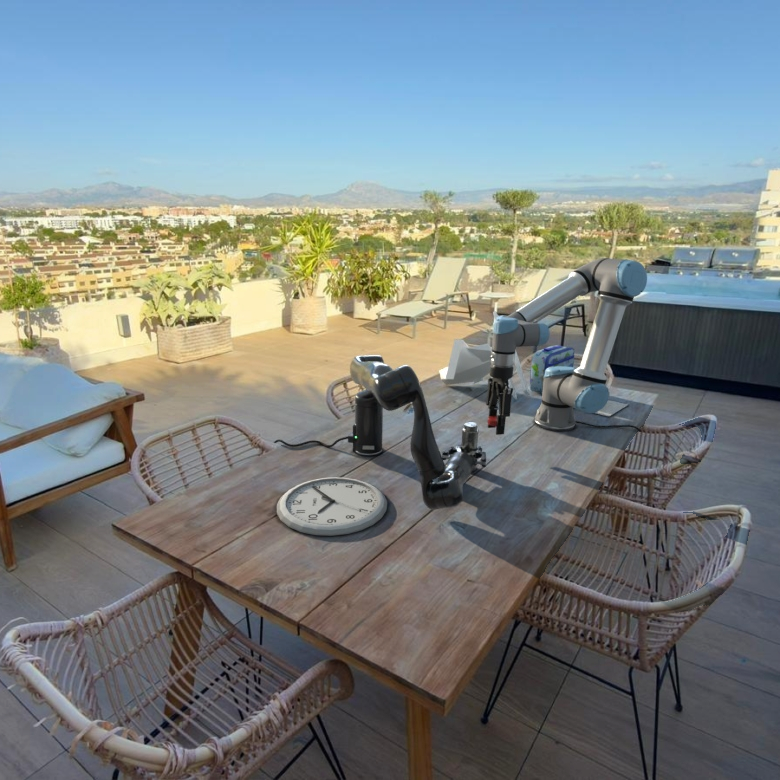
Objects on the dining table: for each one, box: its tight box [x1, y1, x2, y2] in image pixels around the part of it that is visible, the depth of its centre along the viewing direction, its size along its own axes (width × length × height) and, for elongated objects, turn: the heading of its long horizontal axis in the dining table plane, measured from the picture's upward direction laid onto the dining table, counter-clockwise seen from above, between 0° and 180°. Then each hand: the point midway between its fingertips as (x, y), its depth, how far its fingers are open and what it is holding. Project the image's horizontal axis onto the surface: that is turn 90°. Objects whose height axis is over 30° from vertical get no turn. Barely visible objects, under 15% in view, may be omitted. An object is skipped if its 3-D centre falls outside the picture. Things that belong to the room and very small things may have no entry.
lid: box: [487, 416, 497, 427], centre depth 178 cm, size 6×6×2 cm
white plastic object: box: [438, 310, 531, 400], centre depth 245 cm, size 37×45×31 cm
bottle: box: [461, 421, 479, 472], centre depth 164 cm, size 5×5×15 cm
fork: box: [403, 402, 413, 411], centre depth 222 cm, size 3×16×2 cm, turn 160°
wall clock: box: [276, 476, 388, 537], centre depth 142 cm, size 30×2×30 cm
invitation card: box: [595, 399, 629, 418], centre depth 226 cm, size 21×1×15 cm
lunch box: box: [529, 345, 575, 394], centre depth 245 cm, size 26×11×21 cm, turn 134°
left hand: (470, 447), depth 167 cm, fingers closed on bottle, 5 cm apart
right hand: (495, 430), depth 179 cm, fingers closed on lid, 6 cm apart
